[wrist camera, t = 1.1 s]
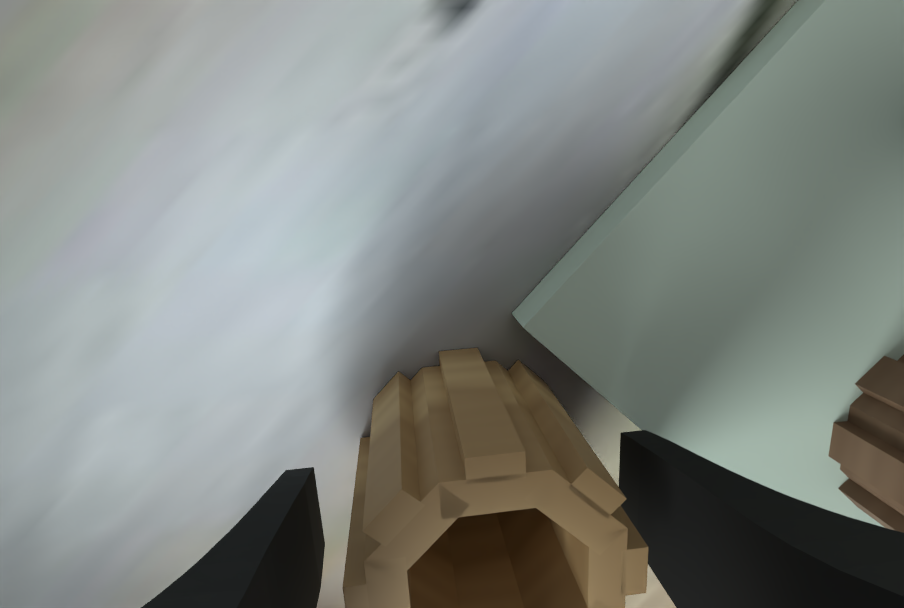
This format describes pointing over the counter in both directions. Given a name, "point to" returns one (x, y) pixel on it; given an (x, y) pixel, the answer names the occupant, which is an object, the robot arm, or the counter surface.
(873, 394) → the walnut cog
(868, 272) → the board
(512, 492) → the oak cog
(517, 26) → the counter surface
